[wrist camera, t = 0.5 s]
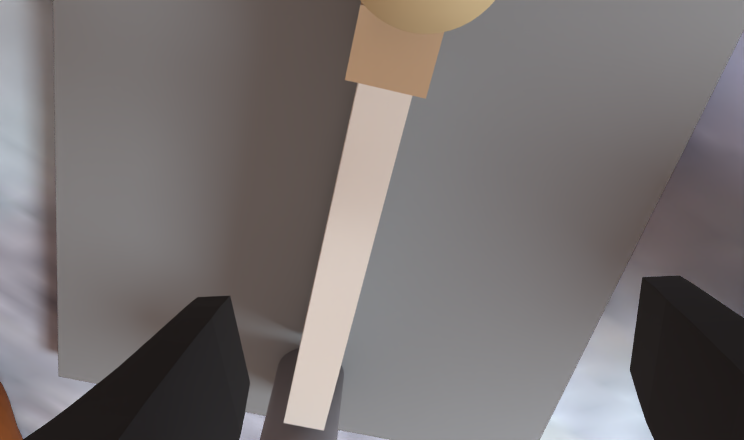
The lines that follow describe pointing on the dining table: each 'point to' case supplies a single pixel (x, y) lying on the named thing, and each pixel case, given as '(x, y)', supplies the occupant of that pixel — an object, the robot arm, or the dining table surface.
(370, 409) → the gate frame
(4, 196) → the dining table surface
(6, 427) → the smoking pipe
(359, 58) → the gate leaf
